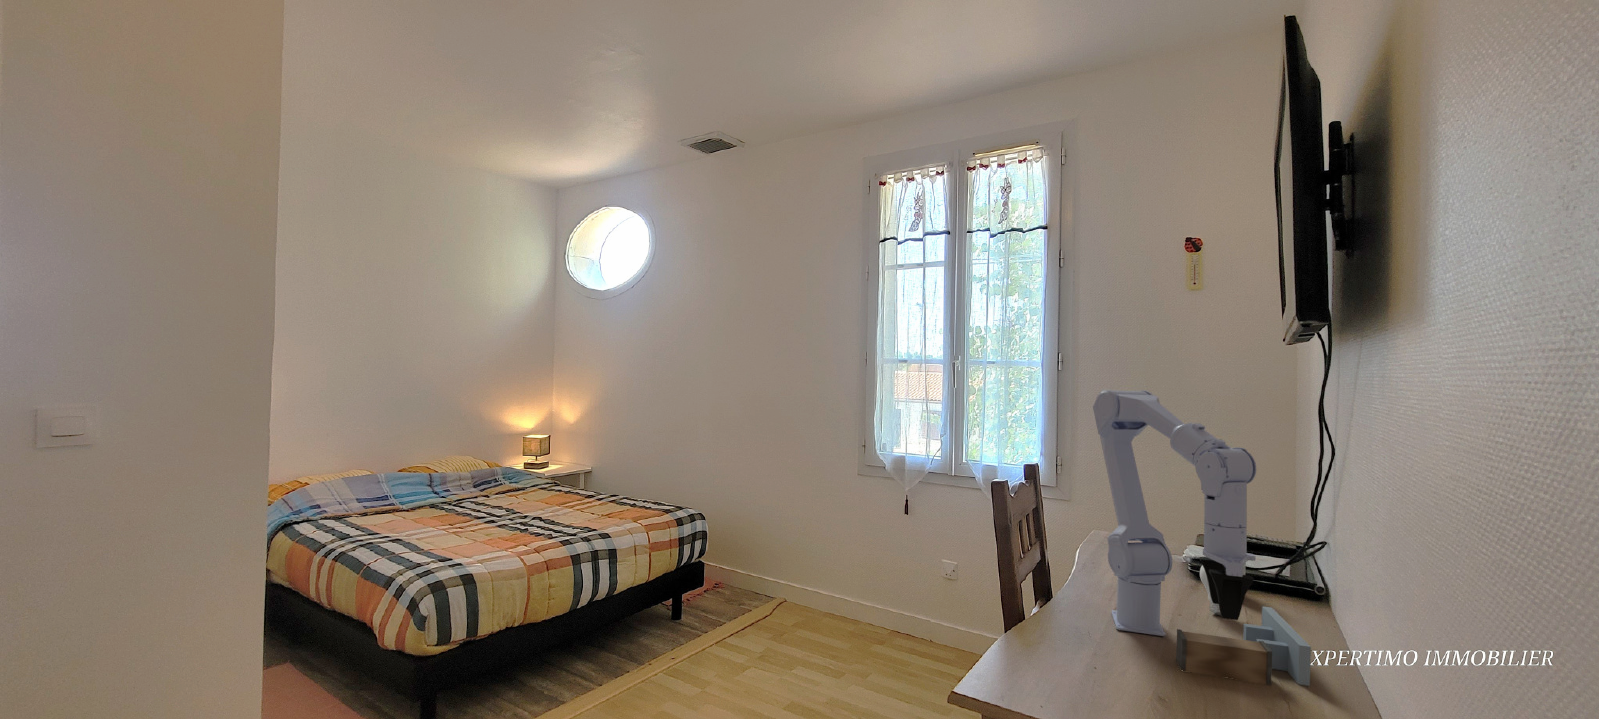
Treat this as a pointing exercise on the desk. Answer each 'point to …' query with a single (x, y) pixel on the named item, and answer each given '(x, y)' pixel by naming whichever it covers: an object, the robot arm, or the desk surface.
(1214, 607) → the light bulb
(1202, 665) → the half pipe ramp
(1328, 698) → the desk surface
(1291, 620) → the desk surface
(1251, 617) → the desk surface
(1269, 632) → the grey footed slab
